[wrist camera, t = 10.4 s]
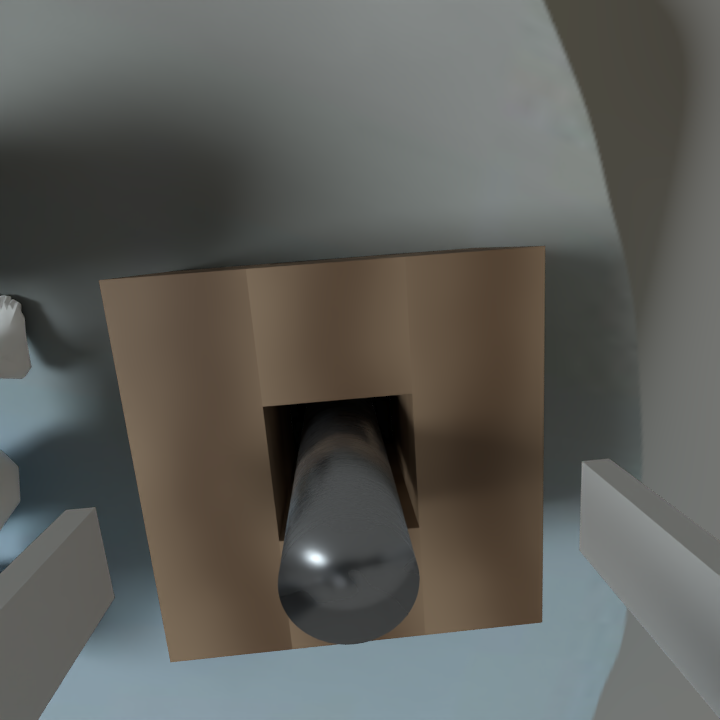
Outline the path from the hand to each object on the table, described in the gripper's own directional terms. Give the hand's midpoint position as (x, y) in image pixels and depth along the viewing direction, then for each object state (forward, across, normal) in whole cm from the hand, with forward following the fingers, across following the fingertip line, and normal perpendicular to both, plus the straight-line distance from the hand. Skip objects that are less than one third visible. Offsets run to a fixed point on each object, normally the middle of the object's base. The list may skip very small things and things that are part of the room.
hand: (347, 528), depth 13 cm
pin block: (+12, 0, 0) cm, 12 cm away
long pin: (+12, 0, 0) cm, 12 cm away
